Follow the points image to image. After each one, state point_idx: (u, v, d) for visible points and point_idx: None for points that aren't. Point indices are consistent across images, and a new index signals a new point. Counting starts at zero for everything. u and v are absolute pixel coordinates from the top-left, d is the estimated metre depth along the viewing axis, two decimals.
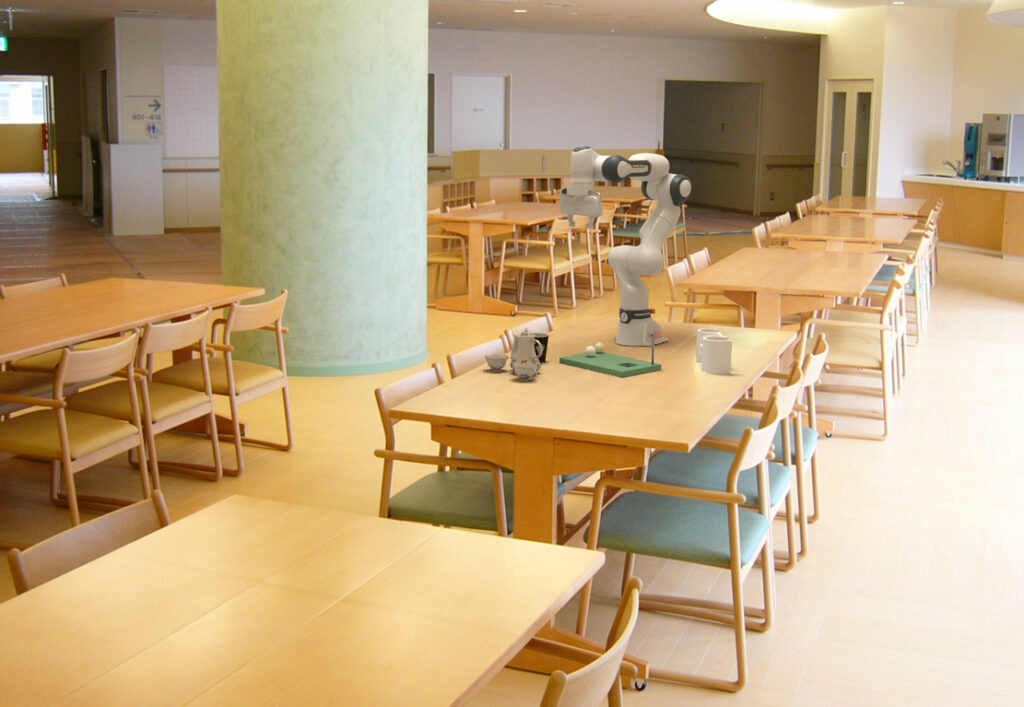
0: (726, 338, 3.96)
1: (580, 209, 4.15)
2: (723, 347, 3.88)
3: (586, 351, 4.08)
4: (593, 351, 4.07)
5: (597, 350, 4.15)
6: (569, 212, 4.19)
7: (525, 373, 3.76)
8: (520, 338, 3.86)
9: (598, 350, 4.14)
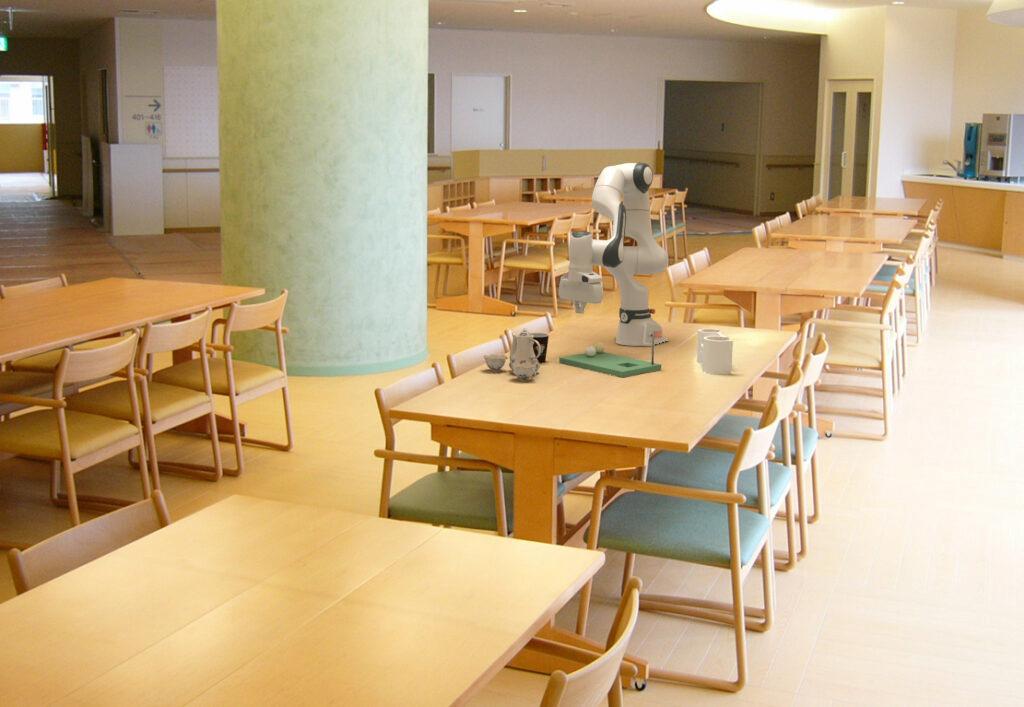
0: (727, 338, 3.96)
1: None
2: (724, 347, 3.88)
3: (586, 351, 4.08)
4: (593, 351, 4.07)
5: (597, 350, 4.15)
6: None
7: (524, 373, 3.76)
8: (519, 338, 3.85)
9: (598, 350, 4.14)
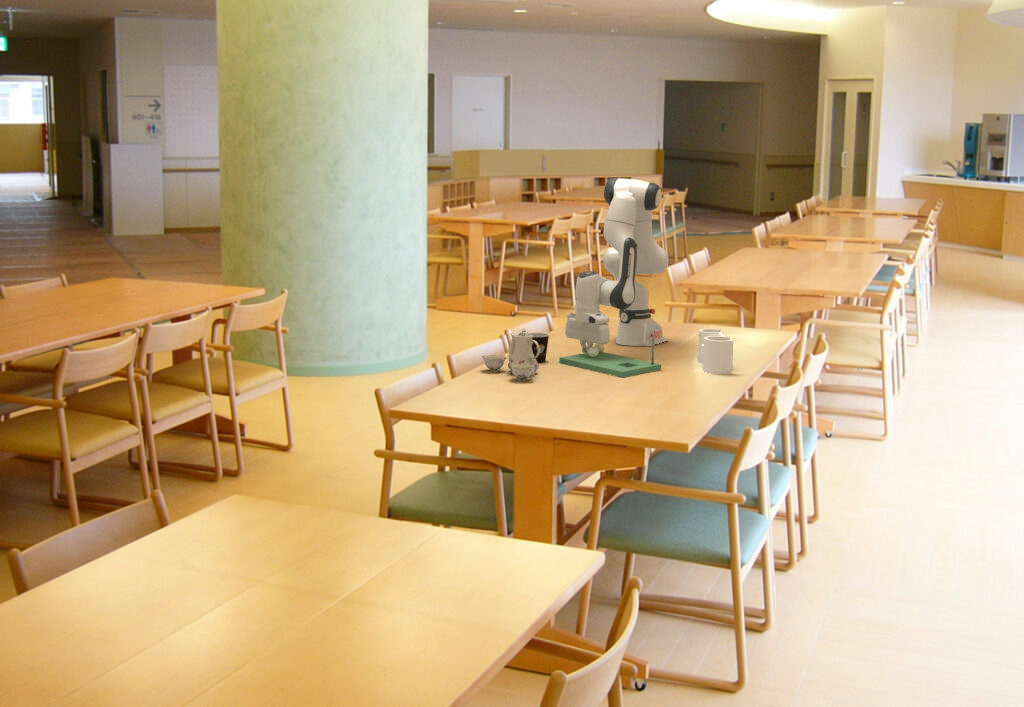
0: (728, 338, 3.96)
1: None
2: (724, 347, 3.88)
3: (589, 352, 4.07)
4: (595, 355, 4.07)
5: None
6: None
7: (523, 373, 3.75)
8: (518, 338, 3.85)
9: None
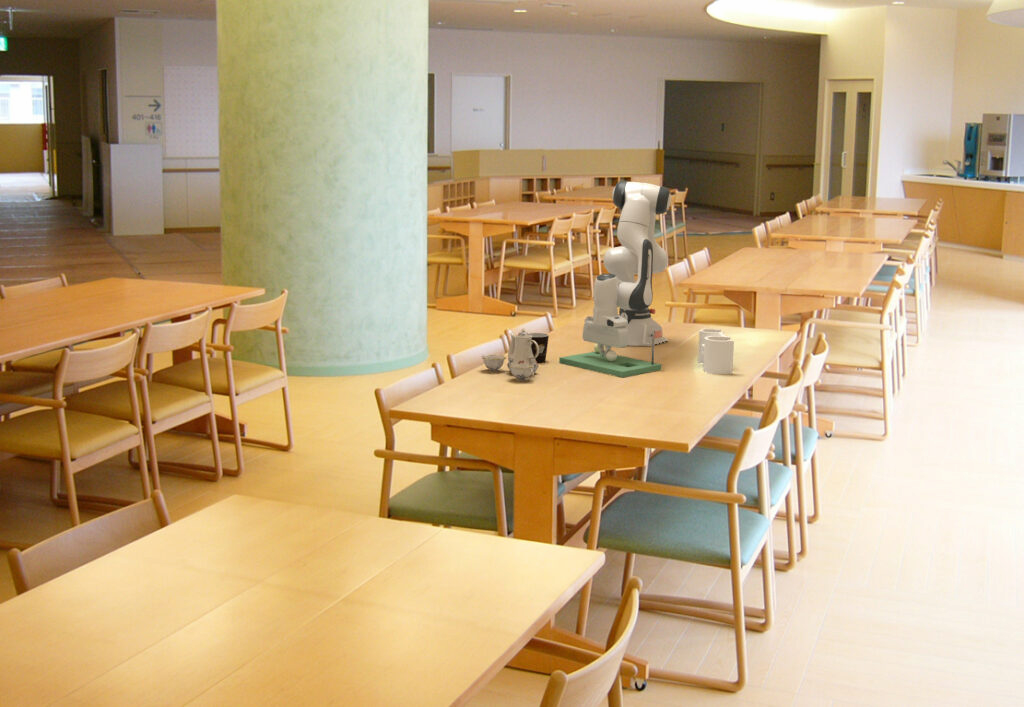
0: (728, 338, 3.96)
1: None
2: (725, 347, 3.88)
3: (607, 356, 4.00)
4: (613, 352, 3.99)
5: (597, 350, 4.15)
6: None
7: (522, 373, 3.75)
8: (517, 338, 3.85)
9: (598, 350, 4.14)
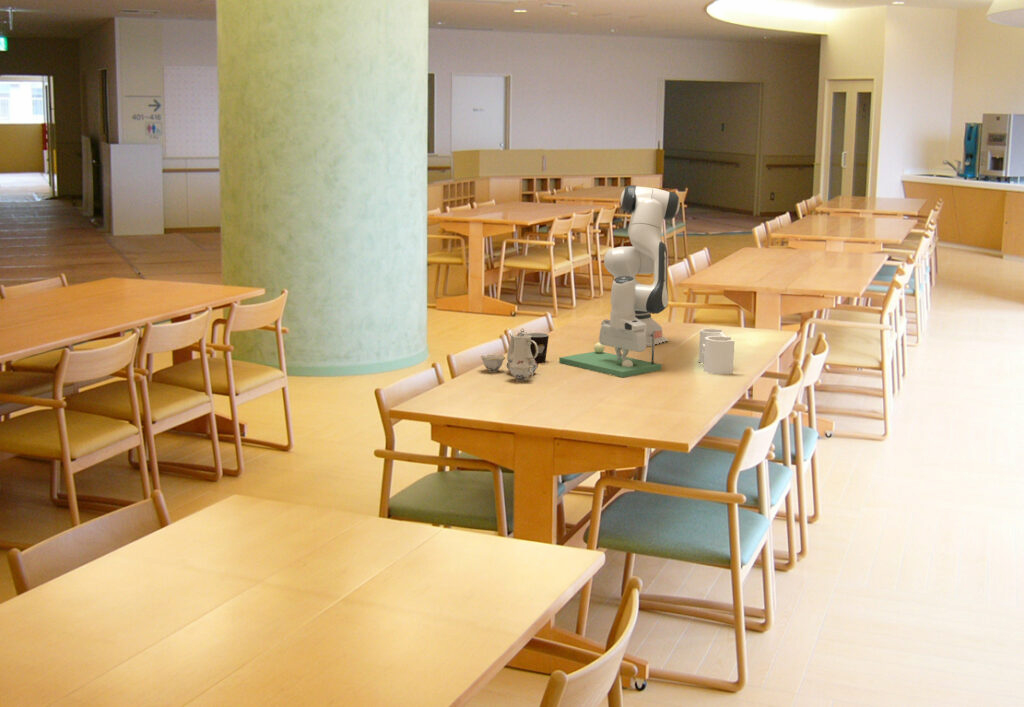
0: (729, 338, 3.96)
1: None
2: (725, 347, 3.88)
3: None
4: None
5: (597, 350, 4.15)
6: None
7: (521, 373, 3.75)
8: (516, 339, 3.85)
9: (598, 350, 4.14)
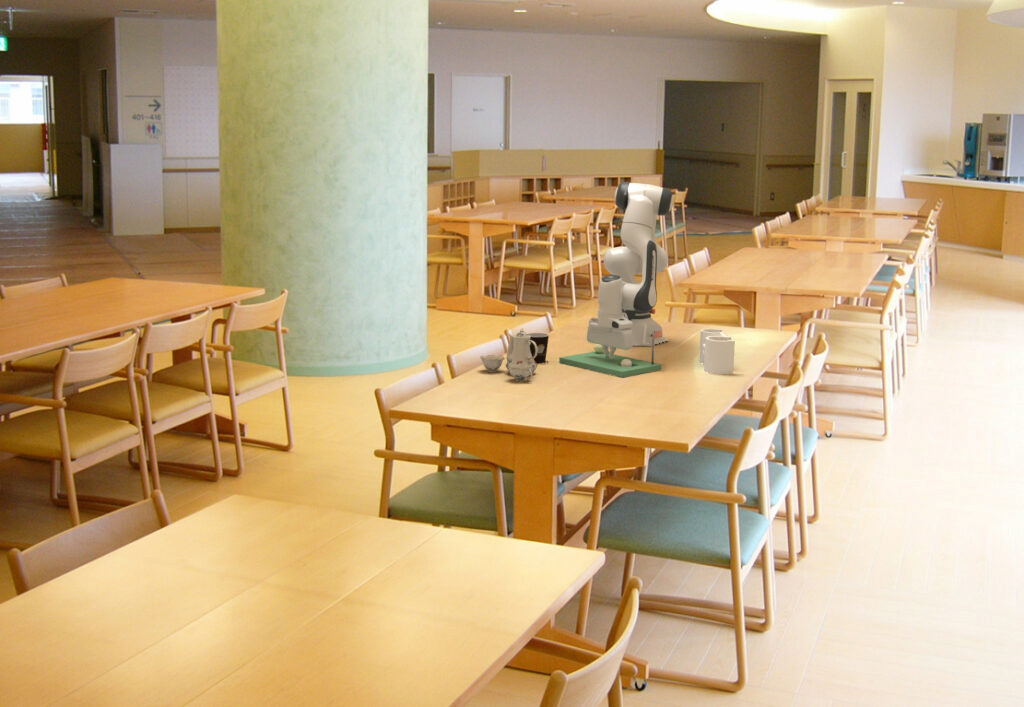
0: (729, 338, 3.96)
1: None
2: (725, 347, 3.88)
3: (622, 364, 3.95)
4: None
5: (597, 350, 4.15)
6: None
7: (520, 373, 3.75)
8: (516, 339, 3.85)
9: (598, 350, 4.14)
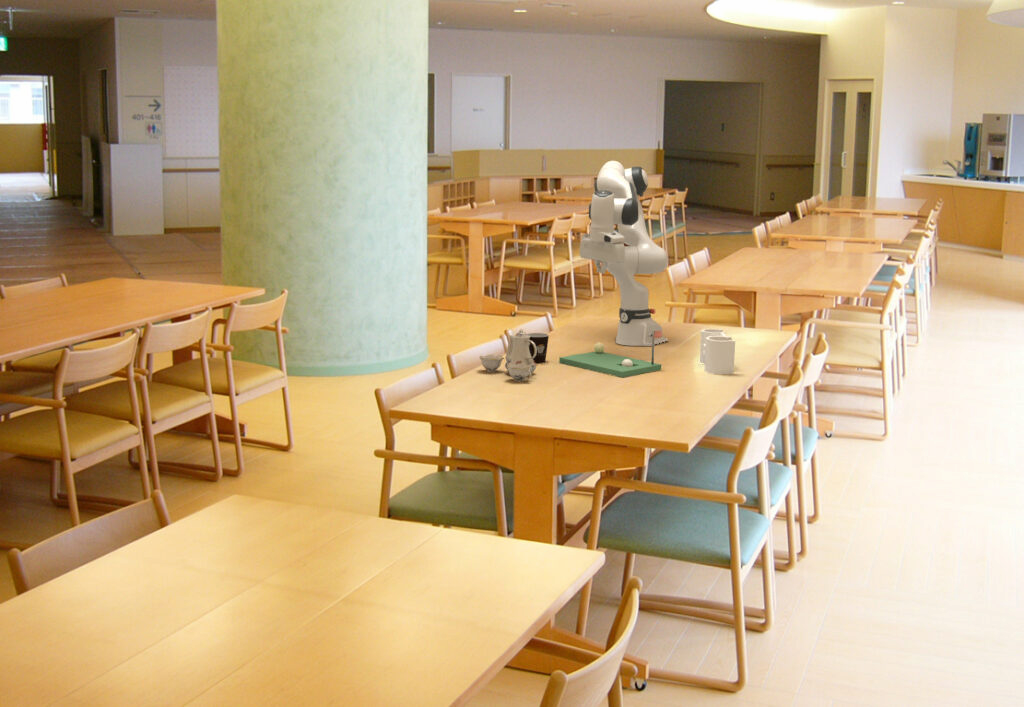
0: (729, 338, 3.96)
1: None
2: (726, 347, 3.88)
3: (623, 364, 3.94)
4: None
5: (597, 350, 4.15)
6: None
7: (519, 373, 3.75)
8: (515, 339, 3.84)
9: (598, 350, 4.14)
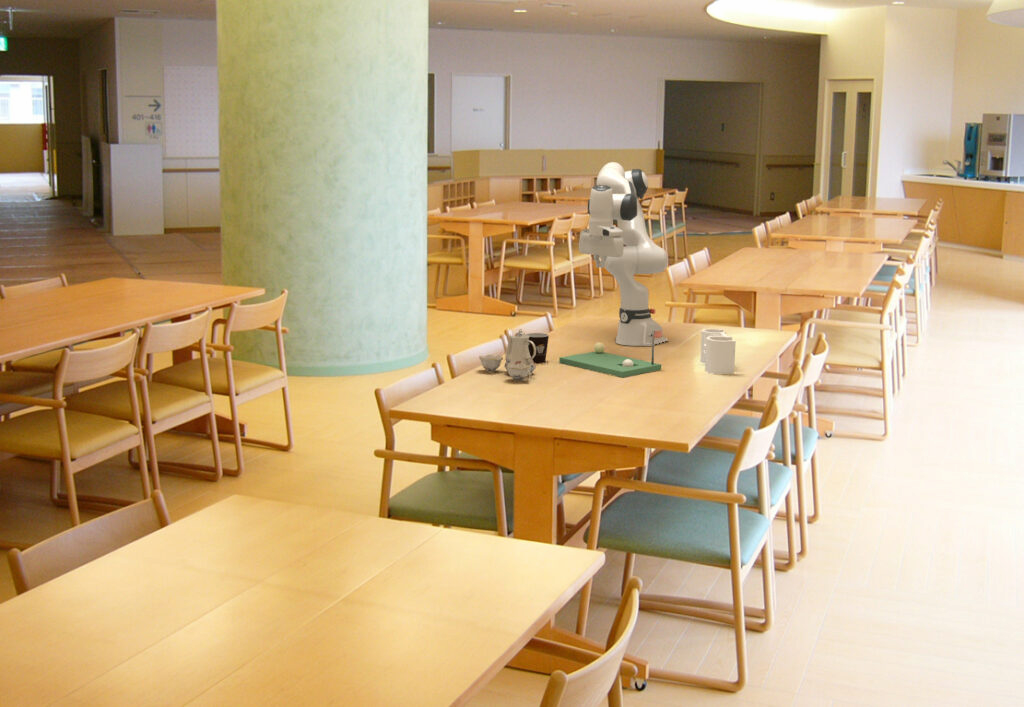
0: (730, 338, 3.96)
1: None
2: (726, 347, 3.88)
3: (624, 364, 3.94)
4: None
5: (597, 350, 4.15)
6: None
7: (518, 374, 3.75)
8: (514, 339, 3.84)
9: (598, 350, 4.14)
